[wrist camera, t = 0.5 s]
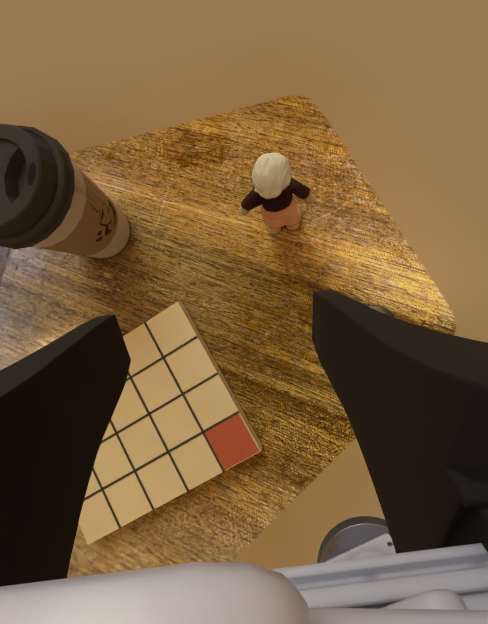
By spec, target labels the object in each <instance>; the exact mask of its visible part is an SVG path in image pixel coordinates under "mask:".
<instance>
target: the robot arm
mask: <svg viewBox="0 0 488 624" xmlns="http://www.w3.org/2000/svg"><path fill="white" fill-rule="evenodd" d="M312 340H313V343H314V346H315V349H316V352H317V355H318V358H319V360H320V363H321V365H322V367H323V369H324V371H325V373H326V374H327V376H328V378H329V380H330V382H331V384H332V386H333V388H334V390H335V392H336V394H337V396H338V398H339V400H340V402H341V403H342V405H343V407H344V409H345V411H346V414H347V416H348V418H349V420H350V422H351V425H352V427H353V430H354V433H355V435H356V438H357V440H358V443H359V446H360V448H361V451H362V454H363V456H364V459H365V462H366V465H367V467H368V470H369V473H370V476H371V478H372V481H373V484H374V487H375V490H376V493H377V496H378V499H379V502H380V504H381V508H382V511H383V514H384V516H385V520H386V523H387V526H388V529H389V532H390V535H389V534H388V533H383V534H381V535H379V536H377V537H375V538H373V539H371V540H369V541H367V542H364V543H362V544H360V545H358V546H356V547H354V548H352V549H350V550H348V551H345V552H343V553H341V554H339V555H337V556H335V557H333V558H331V559H329V560H327V561H326V562H325V563H317V564H309V565H301V566H294V567H285V568H278V569H266V568H263V567H259V566H256V565H253V564H250V563H246V562H194V563H186V564H178V565H170V566H161V567H153V568H145V569H137V570H129V571H121V572H113V573H105V574H97V575H89V576H81V577H73V578H67V573H68V568H69V563H70V558H71V553H72V549H73V544H74V540H75V536H76V531H77V527H78V523H79V518H80V514H81V510H82V506H83V503H84V499H85V495H86V491H87V487H88V484H89V480H90V477H91V473H92V470H93V466H94V463H95V460H96V456H97V453H98V450H99V447H100V445H101V442H102V439H103V437H104V434H105V432H106V430H107V427H108V425H109V422H110V420H111V418H112V415H113V413H114V410H115V408H116V406H117V403H118V401H119V398H120V396H121V394H122V391H123V389H124V386H125V383H126V380H127V376H128V372H129V367H130V363H131V358H130V356H129V353H128V350H127V347H126V344H125V341H124V339H123V336H122V333H121V330H120V327H119V325H118V322H117V319H116V316H115V315H108V316H99V317H96V318H94V319H91V320H89V321H87V322H86V323H84V324H82V325H80V326H78V327H77V328H75V329H73V330H72V331H70V332H68V333H67V334H65V335H63V336H61V337H60V338H58V339H56V340H55V341H53V342H51V343H50V344H48V345H46V346H45V347H43V348H41V349H39V350H37V351H36V352H34V353H32V354H30V355H29V356H27V357H25V358H23V359H21V360H20V361H18V362H16V363H14V364H12V365H10V366H8V367H6V368H4V369H2V370H0V624H488V343H486V342H481V341H475V340H471V339H467V338H462V337H458V336H454V335H449V334H445V333H441V332H438V331H434V330H431V329H427V328H424V327H421V326H418V325H414V324H411V323H408V322H405V321H402V320H400V319H397V318H395V317H392V316H389V315H387V314H384V313H382V312H379V311H377V310H375V309H372V308H370V307H368V306H366V305H364V304H361V303H359V302H357V301H355V300H353V299H351V298H348V297H346V296H344V295H342V294H339V293H337V292H334V291H331V290H327V291H318V292H313V325H312ZM388 542H391V544H388Z"/></svg>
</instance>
